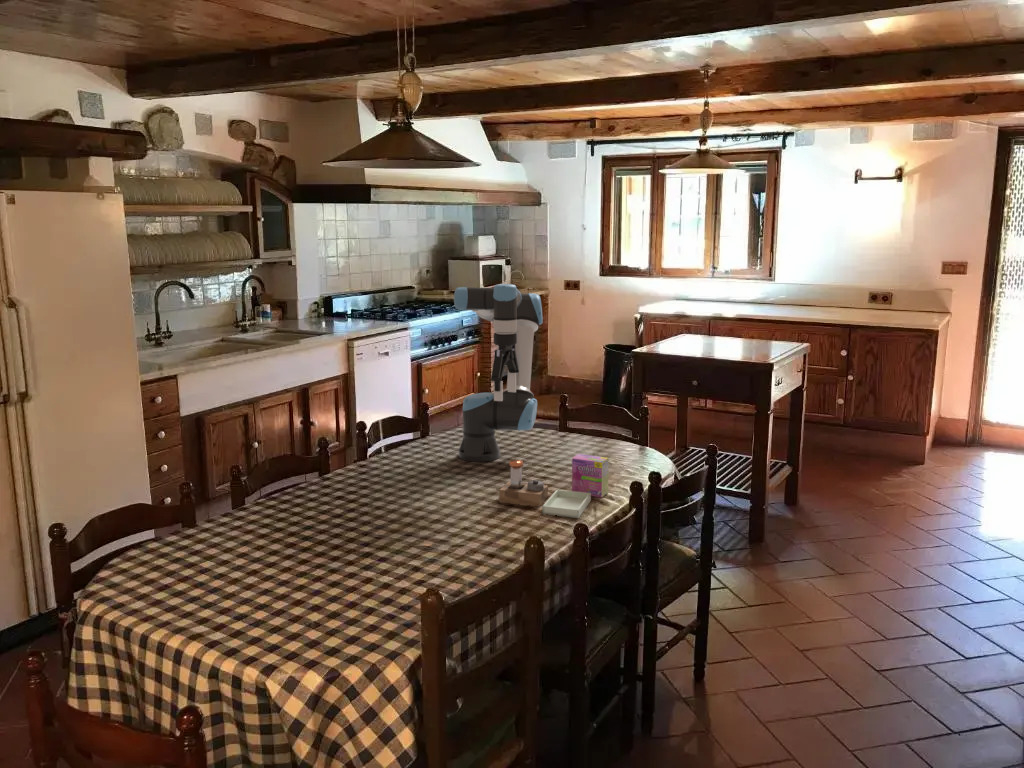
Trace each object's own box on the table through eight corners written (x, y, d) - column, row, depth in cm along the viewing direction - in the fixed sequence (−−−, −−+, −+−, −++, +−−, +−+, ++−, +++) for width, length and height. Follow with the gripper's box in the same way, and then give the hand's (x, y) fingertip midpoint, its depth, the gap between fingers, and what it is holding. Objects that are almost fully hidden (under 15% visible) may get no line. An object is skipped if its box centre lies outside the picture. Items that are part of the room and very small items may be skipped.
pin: (511, 496, 259) (511, 459, 256) (524, 497, 257) (524, 460, 255) (507, 500, 255) (507, 462, 252) (520, 502, 253) (520, 464, 251)
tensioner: (508, 493, 262) (508, 473, 260) (547, 497, 257) (548, 477, 256) (499, 502, 253) (499, 481, 252) (539, 507, 249) (539, 486, 248)
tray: (556, 496, 258) (556, 489, 258) (590, 500, 255) (591, 493, 254) (542, 514, 243) (542, 506, 243) (578, 518, 240) (578, 510, 239)
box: (571, 493, 262) (571, 457, 259) (578, 488, 267) (579, 453, 264) (601, 498, 257) (602, 462, 255) (608, 493, 262) (609, 457, 260)
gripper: (506, 326, 278) (506, 387, 282) (480, 337, 255) (481, 403, 259) (527, 327, 276) (527, 389, 280) (503, 338, 253) (503, 405, 257)
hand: (505, 396), depth 270 cm, fingers open, 13 cm apart
